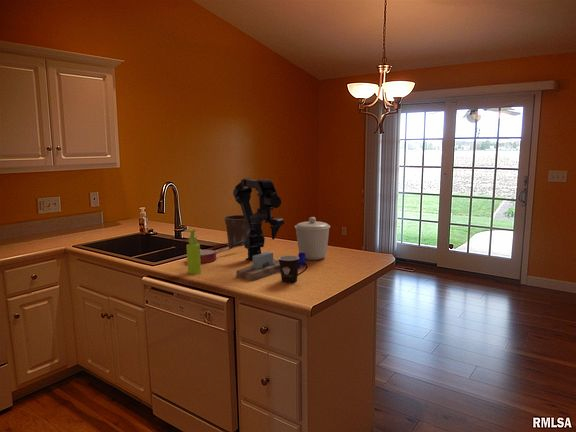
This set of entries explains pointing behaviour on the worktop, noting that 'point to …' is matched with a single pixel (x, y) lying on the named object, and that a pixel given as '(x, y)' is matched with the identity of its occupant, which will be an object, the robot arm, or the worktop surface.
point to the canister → (312, 238)
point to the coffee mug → (289, 268)
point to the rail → (258, 271)
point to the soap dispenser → (193, 254)
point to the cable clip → (302, 259)
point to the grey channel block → (262, 260)
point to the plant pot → (236, 229)
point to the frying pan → (213, 253)
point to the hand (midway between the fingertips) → (266, 238)
